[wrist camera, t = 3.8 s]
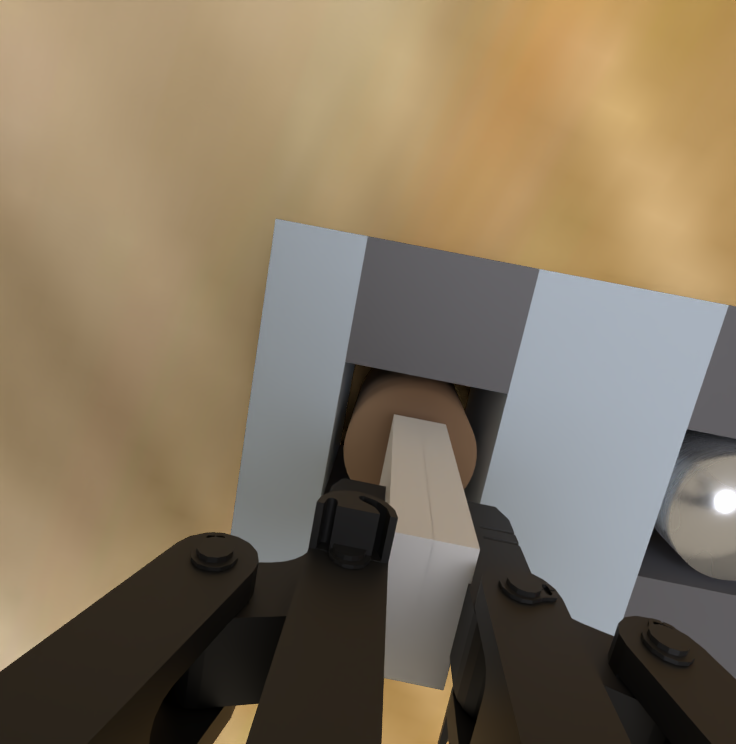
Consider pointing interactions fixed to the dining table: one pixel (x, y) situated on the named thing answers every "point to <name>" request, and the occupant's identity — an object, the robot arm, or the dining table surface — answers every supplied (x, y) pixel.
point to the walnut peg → (408, 399)
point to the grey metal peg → (702, 505)
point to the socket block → (501, 409)
